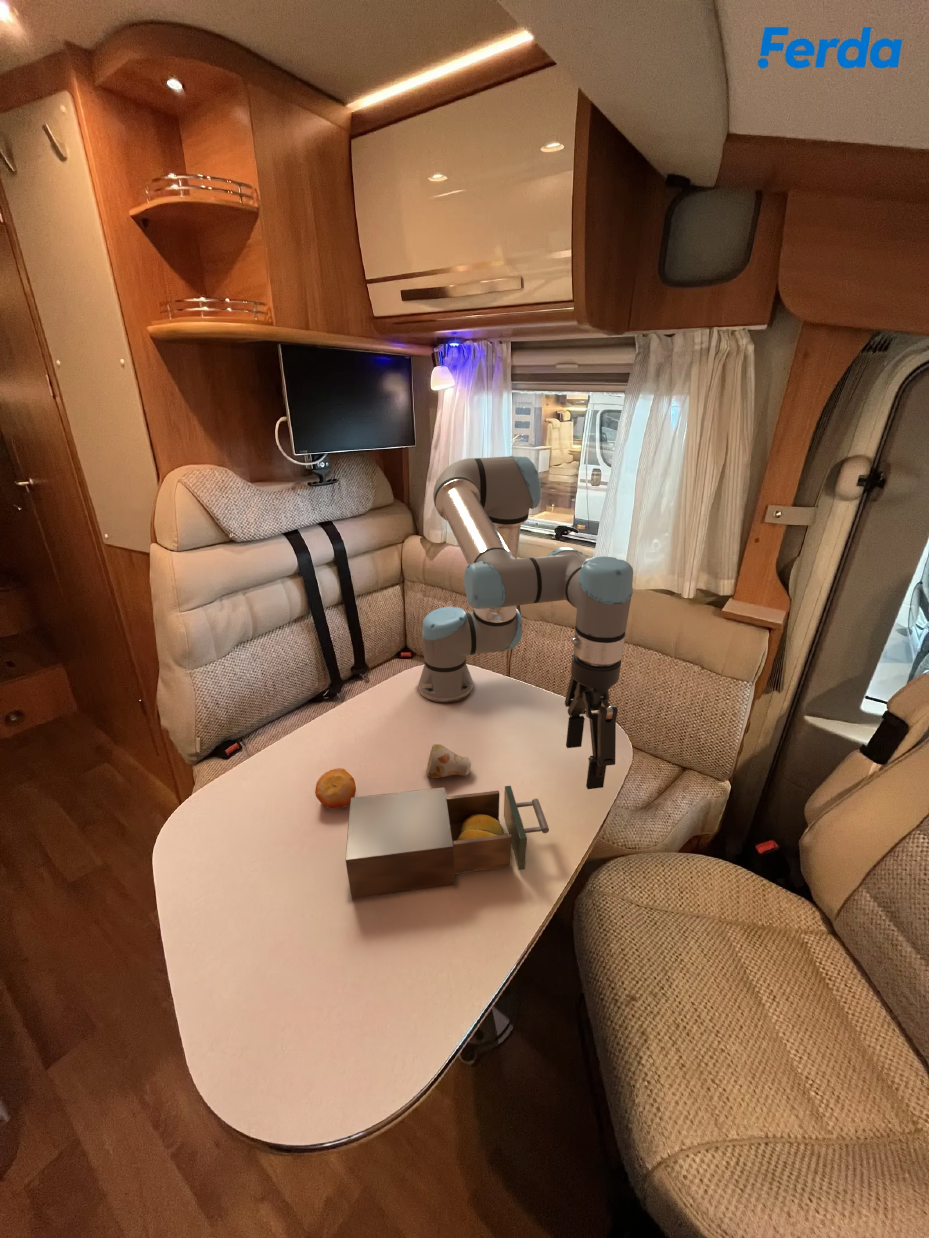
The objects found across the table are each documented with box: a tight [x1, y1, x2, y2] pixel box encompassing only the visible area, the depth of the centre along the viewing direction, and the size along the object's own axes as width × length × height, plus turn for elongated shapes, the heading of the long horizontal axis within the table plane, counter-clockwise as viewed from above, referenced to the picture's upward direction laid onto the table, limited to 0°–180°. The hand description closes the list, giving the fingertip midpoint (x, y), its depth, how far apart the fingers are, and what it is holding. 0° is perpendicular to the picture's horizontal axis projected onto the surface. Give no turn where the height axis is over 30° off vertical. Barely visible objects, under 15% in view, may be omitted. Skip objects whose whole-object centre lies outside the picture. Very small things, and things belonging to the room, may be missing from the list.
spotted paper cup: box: [426, 743, 472, 779], centre depth 110 cm, size 8×10×10 cm
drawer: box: [446, 785, 550, 875], centre depth 92 cm, size 21×12×8 cm, turn 98°
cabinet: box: [345, 786, 455, 900], centre depth 90 cm, size 18×14×10 cm
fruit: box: [314, 767, 357, 810], centre depth 104 cm, size 8×8×8 cm
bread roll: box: [458, 814, 505, 840], centre depth 91 cm, size 8×9×4 cm
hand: (583, 765), depth 88 cm, fingers open, 10 cm apart
